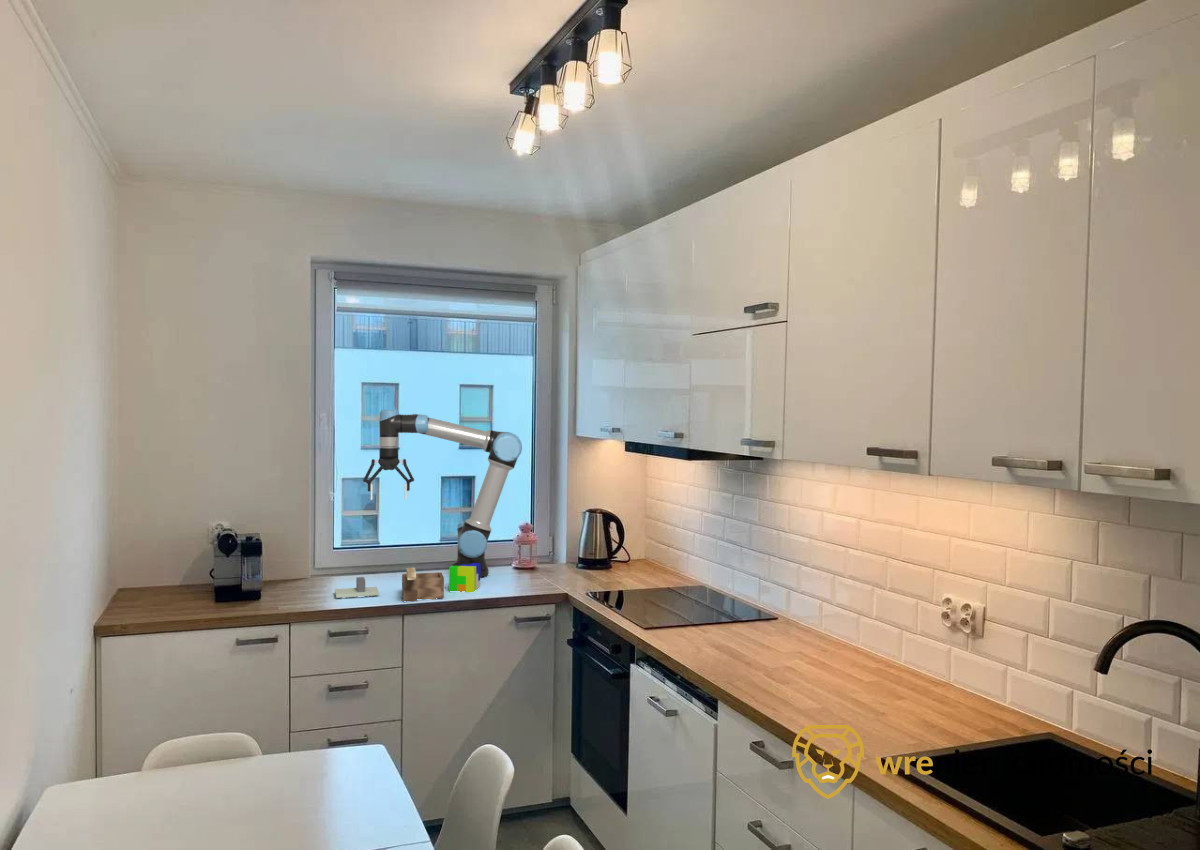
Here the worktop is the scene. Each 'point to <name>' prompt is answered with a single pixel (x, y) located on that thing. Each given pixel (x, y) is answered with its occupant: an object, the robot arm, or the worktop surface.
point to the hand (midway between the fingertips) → (388, 499)
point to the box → (423, 586)
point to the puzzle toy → (464, 577)
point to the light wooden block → (411, 573)
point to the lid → (357, 590)
